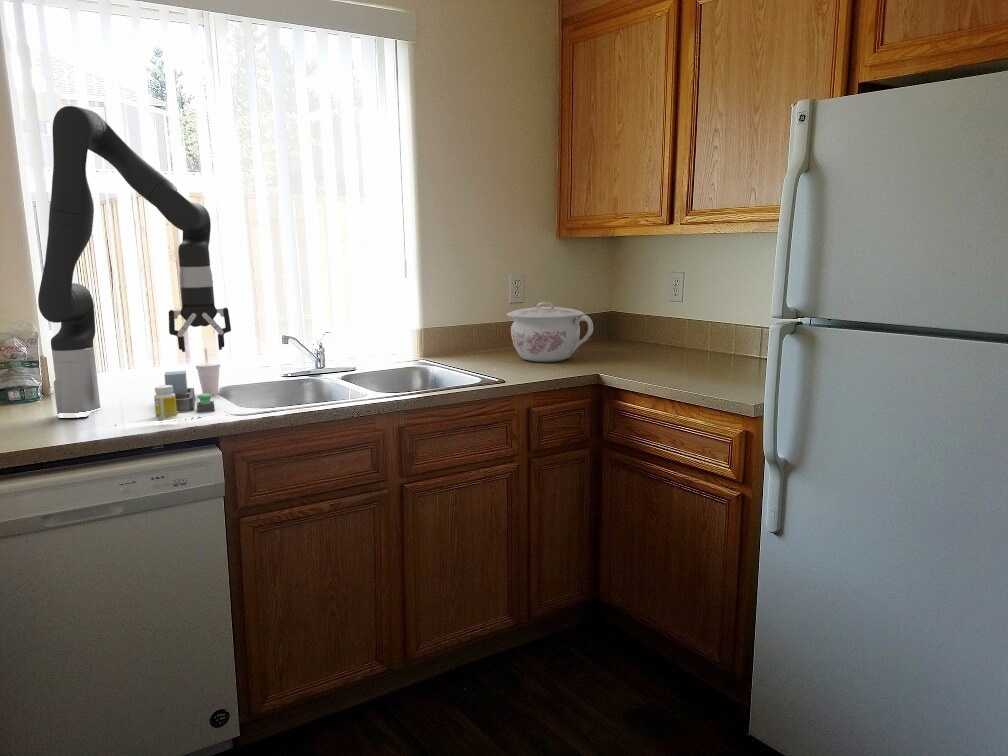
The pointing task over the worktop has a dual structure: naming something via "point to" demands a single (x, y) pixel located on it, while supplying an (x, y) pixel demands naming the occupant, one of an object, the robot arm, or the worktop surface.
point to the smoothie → (208, 376)
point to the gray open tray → (185, 401)
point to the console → (205, 407)
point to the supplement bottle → (165, 401)
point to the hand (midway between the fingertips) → (202, 350)
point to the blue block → (177, 381)
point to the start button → (205, 398)
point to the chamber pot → (547, 332)
